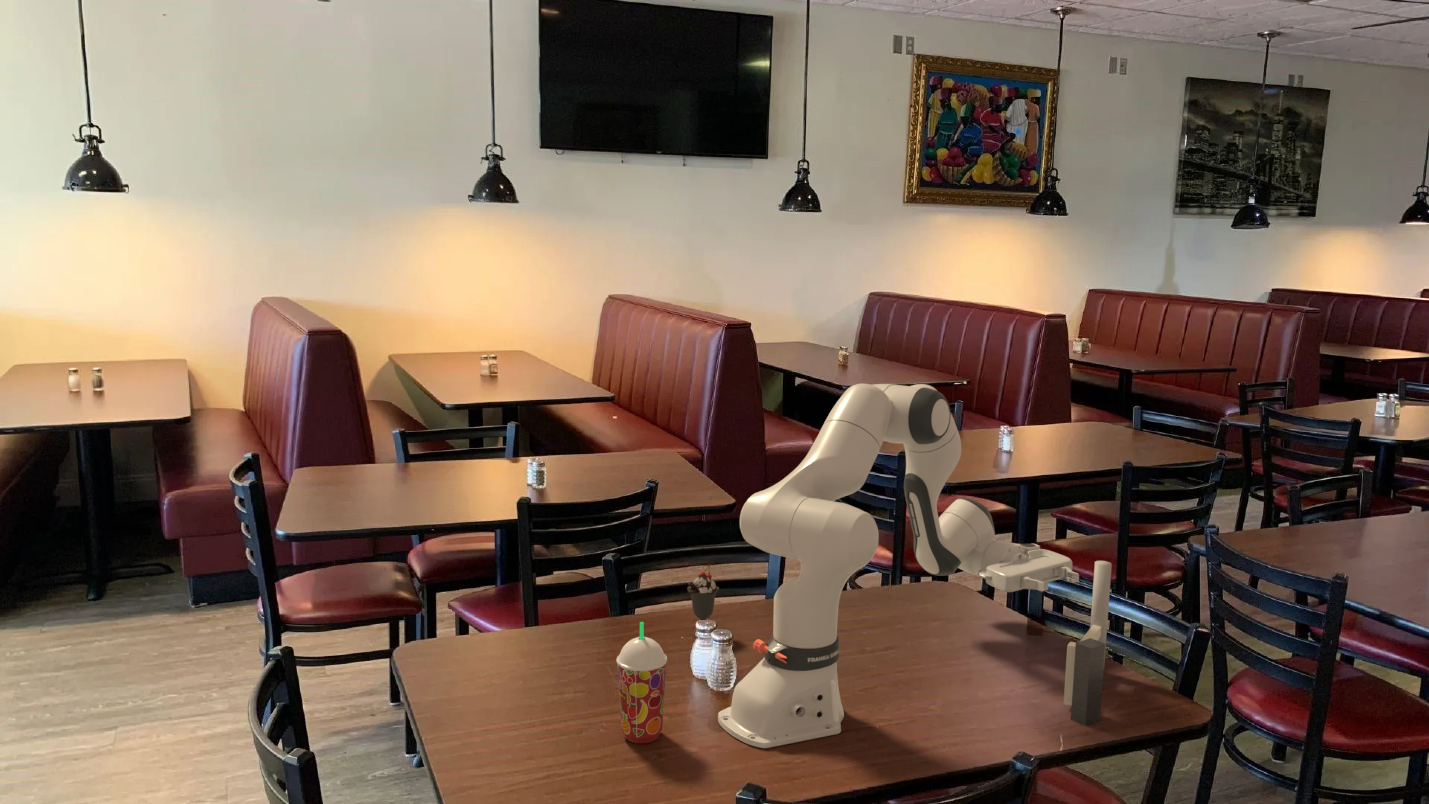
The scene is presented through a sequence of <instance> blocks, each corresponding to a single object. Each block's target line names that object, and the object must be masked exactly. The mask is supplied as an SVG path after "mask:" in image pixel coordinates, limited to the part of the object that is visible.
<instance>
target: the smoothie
mask: <svg viewBox="0 0 1429 804" xmlns="http://www.w3.org/2000/svg"><path fill="white" fill-rule="evenodd" d="M644 624H645V623H644V621H640V622H639V636H638V637H634V638H631V639H630V640H628V642H626V643H625V644H624V645H623V647H622V648H621V650H620V651H619V652H620V653H619V655H617V656H616V660H615V661H616V668H617V669H616V671H617V683H618V696H619V697H618V699H619V712H620V722H621V724H620V725H621V731H622V733H623V734H624V737H625V736H626V737H625V739H626V738H627V739H628V740H631V741H633V742H636V743H635V744H638V743H645V744H649V743H652V741H653V742H654V740H655V741H656V740H658V738H659V737H660V733H662V730H663V722H664V708H665V707H664V706H665V693H666V691H665V689H666V677H667V661H668V657H667V655H666V653H665V652H664V650H663V648H662V647H661V645H660V644H659V643H658V642H657V641H656V640H654V639H652V638H651V637H648V636H647V637H646V636H645V634H644V633H645V632H644V631H645V629H644V627H645V626H644ZM627 739H626V740H627ZM628 740H627V741H628ZM633 742H632V743H633Z"/></svg>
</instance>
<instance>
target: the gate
mask: <svg viewBox="0 0 1429 804" xmlns="http://www.w3.org/2000/svg"><path fill="white" fill-rule="evenodd" d="M1112 566H1113V565H1112V563H1111V562H1110V561H1107V560H1096V561H1094V566H1093V567H1094V571H1093V582H1092V598H1091V612H1090V627H1089V629H1088V630H1087V632H1086V633H1085V635H1084V636H1083V637H1082V638H1081V639H1080V641H1083V640H1086V639H1089V638H1092V639H1094V640H1097V641H1099V642H1102V643H1105V651H1106V649H1107V648H1106V647H1107V646H1106V645H1107V633H1108V620H1109V607H1110V606H1109V605H1110V592H1111V578H1112ZM1076 643H1077V642H1074V641H1070V642H1069V643H1068V644H1067V647H1066V658H1065V661H1066V663H1065V677H1064V689H1063V691H1064V693H1063V705H1067V706H1071V707H1072V693H1073V678H1074V663H1075V648H1076ZM1105 660H1106V654H1105V655H1104V664H1105V662H1106V661H1105ZM1104 670H1105V668H1104V669H1103V671H1104Z"/></svg>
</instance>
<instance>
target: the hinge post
mask: <svg viewBox="0 0 1429 804" xmlns="http://www.w3.org/2000/svg"><path fill="white" fill-rule="evenodd" d="M1075 643H1076V648H1075V663H1074V678H1073V693H1072V706H1071V709H1070V711H1071V712H1070V720H1072V721H1074V722H1076V723H1079V724H1081V725H1083V726H1085V727H1086V726H1089V725H1090V724H1093V723H1096V722H1098V721H1100V720H1101V710H1102V708H1101V707H1102V697H1103V695H1102V694H1103V682H1104V670H1105V663H1104V655H1105V656H1106V650H1105V643H1102V642H1099V641H1097V640H1094V639H1092V638H1089V639H1086V640H1083V641H1081V640H1079V641H1078V642H1075ZM1103 669H1104V670H1103Z"/></svg>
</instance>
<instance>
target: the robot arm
mask: <svg viewBox="0 0 1429 804" xmlns="http://www.w3.org/2000/svg"><path fill="white" fill-rule="evenodd" d="M884 442H887V443H889V444H903V448H904V452H905V474H904V475H905V476H904V480H903V491H904V497H905V502H906V506H907V512H908V515H909V520H910V524H911V526H910V527H911V530H912V534H913V553H914V556H915V560H916V562H917V563H918V565H919V566H920V567H921V568H922V570H924V571H925V572H926V573H928V574H929V575H933V576H936V577H937V576H939V577H941V576H943V577H944V576H945V577H946V576H951V575H954V573H955V572H956V571H957V569H959V570H962V571H964V572H966V573H969V574H972V575H974V576H978V577H979V578H981V579H984V580H985V583H986V584H987V585H989V586H990V587H994V589H997V590H999V591H1001V592H1005V593H1013V592H1016V591H1017V592H1018V591H1022V590H1033V591H1035V590H1037V591H1039V592H1044V591H1048V590H1049V583H1050V582H1054V581H1057V580H1058V581H1059V580H1060V579H1061V580H1062V579H1066V581H1067V582H1069V583H1072V584H1074V583H1077V582H1079V581H1080V574H1079V573H1078V572H1074V571H1073V561H1072V559H1071V558H1070V557H1068V556H1066V555H1064V554H1060V553H1058V552H1055V551H1052V550H1049V549H1043V548H1041V545H1038V544H1036V543H1015V542H1008V541H1004V540H1001V539H997V538H996V536H995V535H996V531H995V524H994V521H993V517H992V515H991V512H990V510H989V509H988V508H987V507H986V506H985V505H984V504H982V503H981V502H979V501H977V500H974V499H970V498H966V497H964V498H963V497H961V498H956V499H955V500H954V501H953V502H952V503H950V505H949V506H948V507H947V508H946V509H945V510H944V512H942V513H941V514H940V516H939V514H938V508H937V506H938V505H937V504H938V500H939V496H940V494H941V493H942V490H943V488H944V486H945V484H946V482H947V481H948V479H949V478H950V476H951V475H952V473H953V472H954V470H955V469H956V467H957V465H958V463H959V462H960V459H961V455H962V441H961V435H960V433H959V430H958V427H957V425H956V422H955V419H954V417H953V414H952V412H951V406H950V404H949V400H947V398H946V397H945V395H944V394H943V393H941V392H940V391H938V390H937V389H936V388H935V387H934V386H932V385H929V384H924V383H916V384H913V385H910V386H909V385H899V384H896V383H877V384H876V383H875V384H870V383H857V384H854V385H851V386H849V387H848V388H847V389H846V390H845V391H844V392H843V393H842V395H841V396H840V398H839V399H838V400H837V401H836V403H835V404H834V405H833V407H832V409H831V410H830V412H829V413H828V416H827V417H826V419H825V421H824V423H823V425H822V426H821V428H820V430H819V433H818V435H817V436H816V438H815V439H814V442H813V444H812V445H811V446H810V448H809V450H808V452H807V454H806V456H805V457H804V458H803V459H802V460H801V462H800V463H799V464H798V465H797V467H795V468H794V469H793V470H792V471H791V472H790V473H789V474H788V475H786V476H785V477H784V478H783V479H781V480H780V481H778V482H776V483H775V484H774V485H771V486H769V487H768V488H765V489H764V490H760V491H758V492H755V493H753V494H752V495H750V497H748V498H747V499H746V501H745V503H744V504H743V506H742V508H741V511H740V515H739V529H740V532H741V535H742V538H743V540H744V541H745V542H746V543H748V545H749V544H750V545H751V546H753V547H755V548H757V549H759V550H761V551H763V552H765V553H768V554H771V555H776V556H778V557H779V556H780V557H784V558H790V559H793V560H797V561H799V562H800V572H799V573H800V574H799V576H796V577H794V578H790V579H789V580H787V581H785V582H784V583H782V584H781V585H780V586H779V587H778V589H777V590H776V592H775V594H774V596H773V618H772V619H773V623H772V627H773V630H772V631H773V632H772V633H771V635H770V637H769V640H768V643H767V642H765V641H763V640H762V639H759V638H757V639H755V641H754V643H753V644H752V647H753V650H754V651H756V652H759V654H761V655H763V658H762V659H761V660H760V661H759V662H758V663H757V664H756V666H754V667H753V668H752V669H751V670H750V671H749V672H748V673H747V674H746V675H745V676H744V677H743V678H742V679H741V680H740V681H739V682H738V683H737V684H736V685H735V687H734V690H733V693H732V698H731V699H732V700H731V705H730V706H728V707H727V708H723V709H722V710H720V711H719V712H718V714H717V721H718V722H717V723H718V724H719V725H720V727H721V728H722V729H723V730H724V731H725V732H726V733H728V734H729V735H731V736H732V737H733V738H735V739H737V740H739V741H741V742H742V743H745V744H746V745H750V746H753V747H757V748H760V749H768V748H775V747H779V746H784V745H788V744H794V743H799V742H803V741H804V742H805V741H809V740H814V739H819V738H824V737H829V736H834V735H838V734H840V733H841V732H842V725H841V723H842V721H843V719H844V717H845V710H844V708H843V705H842V700H841V695H840V690H839V681H838V679H839V678H838V669H837V668H838V666H837V663H838V662H837V661H838V660H839V658H840V638H839V636H838V633H837V632H838V631H837V630H838V616H839V606H840V605H839V604H840V598H841V595H842V591H843V588H844V587H845V584H846V583H847V581H848V580H849V579H850V577H851V576H852V575H854V574H855V572H857V571H858V570H860V569H862V568H864V567H865V566H866V565H867V564H869V563H870V562H871V560H872V559H873V557H874V556H875V554H876V552H877V549H878V545H879V543H880V542H879V541H880V540H879V537H880V535H879V534H880V533H879V530H878V525H877V523H876V521H875V519H874V517H873V516H872V514H871V513H869V512H867V511H864V510H862V509H861V508H858V507H855V506H853V505H850V504H848V503H845V502H838V501H836V500H840V499H841V498H845V497H846V496H847V497H848V496H849V495H852V494H854V493H856V492H858V491H859V490H860V489H861V488H862V487H863V486H864V484H865V483H866V482H867V481H866V480H867V478H868V476H869V474H870V471H871V470H872V467H873V465H874V463H875V461H876V459H877V457H878V455H879V452H880V450H881V448H882V446H883V443H884Z"/></svg>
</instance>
